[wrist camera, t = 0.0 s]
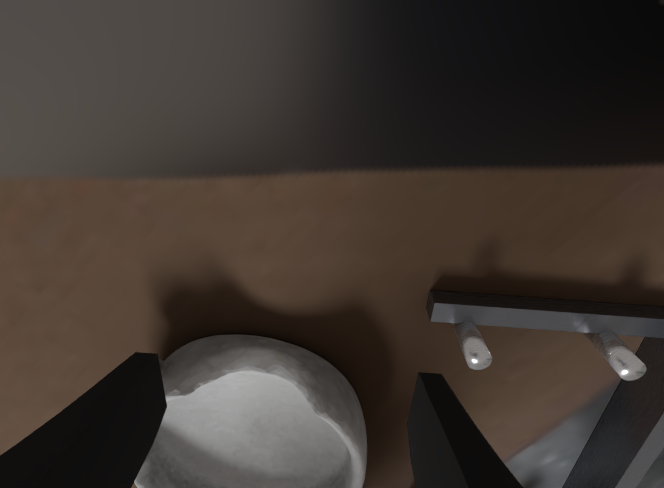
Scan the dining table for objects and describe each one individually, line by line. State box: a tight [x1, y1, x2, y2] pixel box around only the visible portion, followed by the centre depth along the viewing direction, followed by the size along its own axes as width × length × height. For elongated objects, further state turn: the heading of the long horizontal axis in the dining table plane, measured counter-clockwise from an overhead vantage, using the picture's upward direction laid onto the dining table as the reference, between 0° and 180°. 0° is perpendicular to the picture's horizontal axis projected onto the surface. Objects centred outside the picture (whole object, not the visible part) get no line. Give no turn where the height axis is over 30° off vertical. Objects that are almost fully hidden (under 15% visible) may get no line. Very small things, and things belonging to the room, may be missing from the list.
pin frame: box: [426, 290, 664, 488], centre depth 24 cm, size 20×14×4 cm
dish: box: [134, 334, 367, 488], centre depth 23 cm, size 14×14×5 cm
